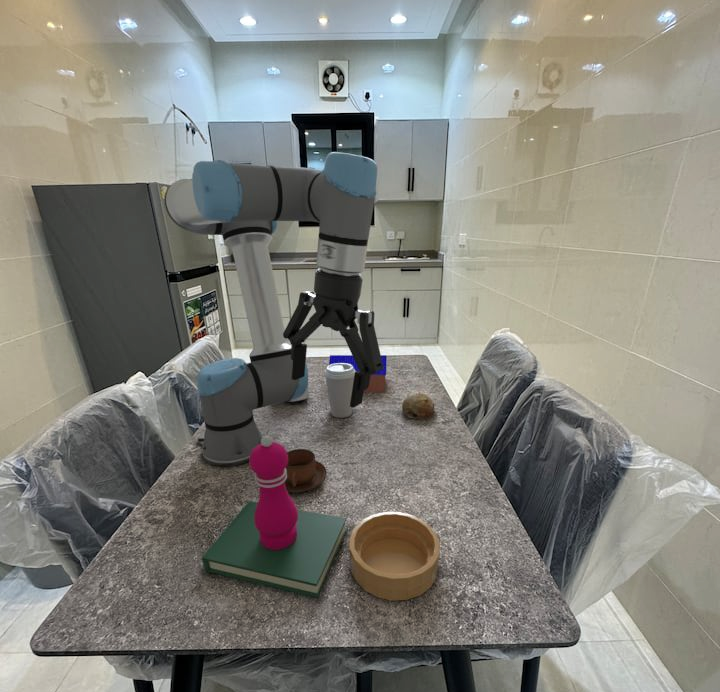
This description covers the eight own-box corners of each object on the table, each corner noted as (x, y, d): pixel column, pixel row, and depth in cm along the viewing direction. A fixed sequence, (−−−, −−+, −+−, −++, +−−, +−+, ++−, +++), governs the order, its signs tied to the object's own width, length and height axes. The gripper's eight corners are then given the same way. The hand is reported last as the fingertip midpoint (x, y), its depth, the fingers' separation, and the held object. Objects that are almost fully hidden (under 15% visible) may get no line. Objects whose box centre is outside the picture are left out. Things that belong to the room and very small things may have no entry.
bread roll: (399, 424, 119) (396, 408, 113) (407, 400, 125) (405, 383, 119) (431, 430, 115) (429, 413, 110) (438, 404, 121) (437, 387, 116)
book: (204, 571, 64) (201, 557, 63) (251, 512, 77) (249, 500, 76) (317, 598, 59) (316, 584, 58) (346, 530, 72) (346, 518, 71)
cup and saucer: (332, 491, 83) (330, 467, 81) (276, 502, 80) (272, 477, 78) (321, 462, 94) (319, 440, 91) (271, 470, 91) (268, 448, 88)
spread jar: (312, 402, 127) (310, 369, 122) (281, 411, 121) (277, 376, 116) (297, 391, 136) (294, 359, 131) (266, 398, 130) (262, 366, 125)
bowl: (339, 590, 60) (337, 566, 58) (363, 526, 73) (363, 505, 71) (432, 612, 56) (435, 587, 54) (441, 541, 69) (443, 519, 67)
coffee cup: (353, 421, 114) (352, 373, 108) (322, 418, 116) (319, 371, 110) (359, 407, 122) (358, 362, 116) (330, 405, 124) (328, 361, 118)
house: (333, 380, 146) (332, 350, 141) (386, 380, 144) (386, 350, 140) (329, 392, 135) (327, 360, 130) (386, 392, 133) (386, 360, 129)
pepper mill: (280, 559, 62) (266, 453, 54) (248, 542, 66) (231, 440, 58) (308, 531, 68) (299, 432, 60) (277, 517, 71) (265, 421, 63)
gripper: (265, 255, 63) (262, 372, 73) (396, 292, 52) (371, 425, 61) (297, 254, 68) (290, 363, 78) (420, 287, 57) (394, 409, 67)
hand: (325, 390), depth 70 cm, fingers open, 13 cm apart
